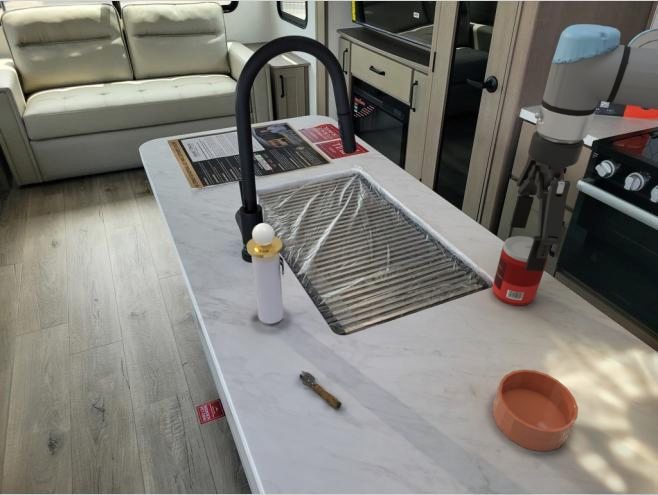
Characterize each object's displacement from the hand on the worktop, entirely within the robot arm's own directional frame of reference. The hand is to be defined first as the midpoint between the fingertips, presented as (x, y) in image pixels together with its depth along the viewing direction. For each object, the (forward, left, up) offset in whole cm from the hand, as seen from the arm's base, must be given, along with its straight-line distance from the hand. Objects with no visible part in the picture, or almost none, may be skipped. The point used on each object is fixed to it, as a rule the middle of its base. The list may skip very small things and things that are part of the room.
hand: (525, 247), depth 86 cm
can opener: (+34, +28, -11) cm, 45 cm away
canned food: (0, 0, -11) cm, 11 cm away
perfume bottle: (+45, +13, -11) cm, 48 cm away
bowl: (+3, +29, -11) cm, 31 cm away
